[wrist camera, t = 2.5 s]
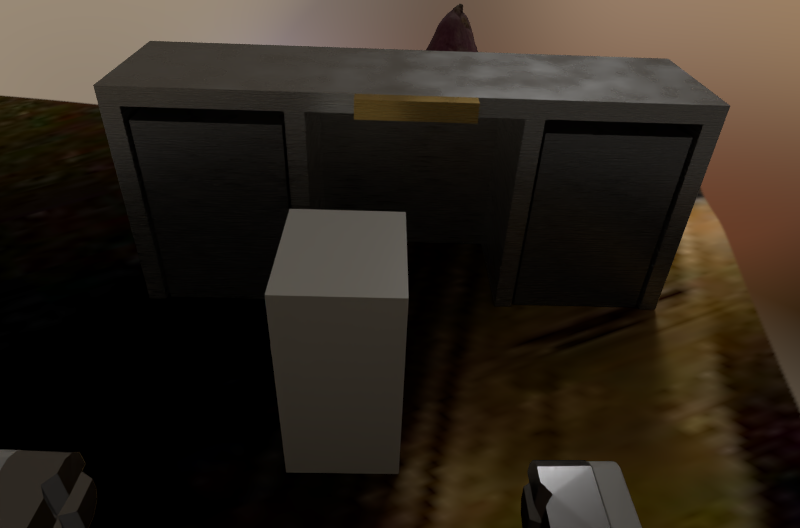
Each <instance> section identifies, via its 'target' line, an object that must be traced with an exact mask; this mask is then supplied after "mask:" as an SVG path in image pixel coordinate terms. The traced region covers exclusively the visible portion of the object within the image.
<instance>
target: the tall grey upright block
mask: <svg viewBox="0 0 800 528" xmlns="http://www.w3.org/2000/svg"><path fill="white" fill-rule="evenodd" d="M408 301H409V294H408V264H407V234H406V212H389V211H352V210H315V209H289V213H288V216H287V219H286V223H285V226H284V230H283V233H282V237H281V240H280V243H279V247H278V250H277V254H276V257H275V261H274V264H273V268H272V271H271V274H270V278H269V281H268V285H267V288H266V292H265V304H266V312H267V320H268V328H269V336H270V344H271V353H272V361H273V369H274V377H275V385H276V393H277V402H278V410H279V418H280V426H281V434H282V442H283V451H284V459H285V467H286V472H294V473H364V474H399V460H400V442H401V425H402V407H403V389H404V372H405V354H406V336H407V319H408Z"/></svg>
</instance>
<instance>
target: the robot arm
mask: <svg viewBox="0 0 800 528" xmlns="http://www.w3.org/2000/svg"><path fill="white" fill-rule="evenodd" d="M84 466H85V462H84V460H83V458H82V456H81V454H80V453H79V452H52V451H22V450H0V528H89V526H90V523H91V521H92V519H93V516H94V512H95V507H96V502H97V493H96V486H95V484H94V481H93V479H92V478H90V477H89V476H87V475H86V474H84V473H83V472H82V470H83V468H84ZM528 477H529V482H530V483H528V484H527V485H526V486H524V488H523V493H522V498H521V518H522V527H523V528H642V527H641V524H640V521H639V519H638V516H637V513H636V510H635V507H634V505H633V502H632V499H631V496H630V494H629V491H628V488H627V485H626V482H625V480H624V477H623V474H622V471H621V469H620V467H619V466H618V464H617V463H616V462H613V461H585V460H533V461H532V462H531V463H530V465H529V468H528Z"/></svg>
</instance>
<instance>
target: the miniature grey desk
mask: <svg viewBox="0 0 800 528" xmlns="http://www.w3.org/2000/svg"><path fill="white" fill-rule="evenodd" d="M93 86H94V89H95V93H96V97H97V100H98V105H99V108H100V112H101V116H102V120H103V123H104V127H105V131H106V135H107V139H108V142H109V146H110V150H111V154H112V157H113V161H114V165H115V169H116V172H117V176H118V180H119V184H120V187H121V191H122V195H123V199H124V202H125V206H126V210H127V214H128V218H129V221H130V225H131V229H132V233H133V236H134V240H135V244H136V248H137V251H138V255H139V259H140V263H141V266H142V270H143V274H144V278H145V282H146V285H147V289H148V293H149V297H150V298H164V299H167V297H168V295H169V293H170V295H171V297H212V298H256V299H265V292H266V288H267V285H268V281H269V278H270V274H271V271H272V268H273V264H274V261H275V257H276V254H277V250H278V247H279V243H280V240H281V237H282V233H283V230H284V226H285V223H286V219H287V216H288V213H289V209H315V210H352V211H389V212H406V234H407V242H431V243H471V244H481V246H482V251H483V255H484V260H485V264H486V269H487V273H488V278H489V282H490V287H491V291H492V296H493V300H494V305H495V306H511V303H512V300H513V304H522V305H566V306H611V307H635V305H636V304H637V306H638V308H639V309H654V310H655V308H656V306H657V303H658V300H659V298H660V295H661V292H662V289H663V287H664V284H665V281H666V279H667V276H668V273H669V270H670V268H671V265H672V262H673V260H674V257H675V254H676V251H677V249H678V246H679V243H680V241H681V238H682V235H683V232H684V230H685V227H686V224H687V222H688V219H689V216H690V213H691V211H692V208H693V205H694V203H695V200H696V197H697V194H698V192H699V189H700V186H701V183H702V181H703V178H704V175H705V173H706V170H707V167H708V164H709V162H710V159H711V156H712V154H713V151H714V148H715V146H716V143H717V140H718V137H719V135H720V132H721V129H722V127H723V124H724V121H725V118H726V116H727V113H728V110H729V108H730V105H728V104H727V103H726V102H724V101H723V100H722V99H721V98H719V97H718V96H716V95H715V94H714V93H713V92H711V91H710V90H709V89H707V88H706V87H705V86H703V85H702V84H701V83H699V82H698V81H697V80H695V79H694V78H693V77H692V76H690V75H689V74H688V73H686V72H685V71H684V70H682V69H681V68H680V67H678V66H677V65H676V64H674V63H673V62H672V61H670V60H669V59H658V58H627V57H600V56H571V55H542V54H513V53H512V54H511V53H484V52H455V51H426V50H397V49H396V50H395V49H367V48H338V47H337V48H336V47H309V46H279V45H250V44H222V43H193V42H192V43H191V42H164V41H149V42H148V43H147V44H146V45H144V46H143V47H142V48H141V49H139V50H138V51H137V52H135V53H134V54H133V55H131V56H130V57H129V58H128V59H126V60H125V61H124V62H123V63H121V64H120V65H119V66H117V67H116V68H115V69H114V70H112V71H111V72H110V73H108V74H107V75H106V76H105V77H103V78H102V79H101V80H100V81H98V82H97V83H96V84H94V85H93Z"/></svg>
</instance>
